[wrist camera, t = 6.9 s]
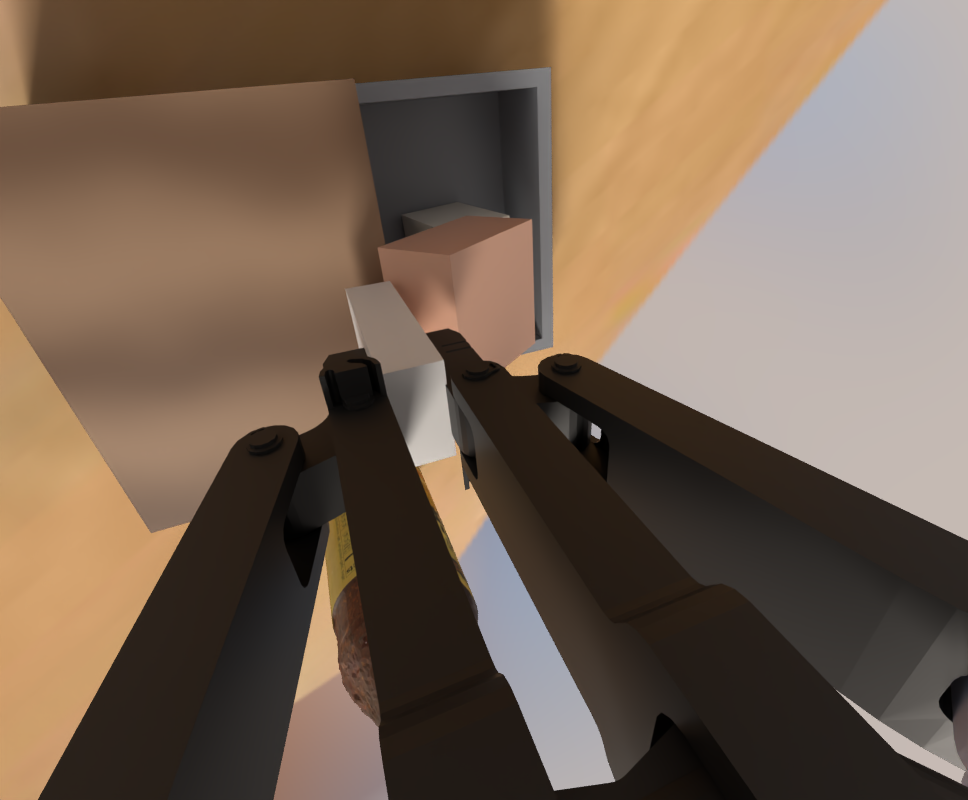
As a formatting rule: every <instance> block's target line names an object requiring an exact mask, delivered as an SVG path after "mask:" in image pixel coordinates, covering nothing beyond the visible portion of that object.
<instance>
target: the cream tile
mask: <svg viewBox="0 0 968 800" xmlns="http://www.w3.org/2000/svg"><path fill="white" fill-rule="evenodd" d="M401 216H402V221H403V226H404V231H405V236H406V237H408V236H411V235H414V234H417V233H419V232H422V231H425V230H428V229H430V228H433V227H436V226H439V225H442V224H444V223H447V222H450V221H453V220H455V219H458V218H461V217H464V216H483V217H502V218H510V217H509V215H506V214H502V213H498V212H494V211H490V210H487V209H483V208H479V207H475V206H471V205H467V204H463V203H459V202H455V203H450V204H446V205H442V206H437V207H433V208H428V209H424V210H420V211H415V212H411V213H406V214H402V215H401Z"/></svg>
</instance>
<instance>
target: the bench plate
mask: <svg viewBox="0 0 968 800" xmlns="http://www.w3.org/2000/svg"><path fill="white" fill-rule="evenodd" d="M383 245H385V240H384V235H383V229H382V224H381V219H380V213H379V208H378V203H377V197H376V192H375V187H374V181H373V176H372V171H371V165H370V160H369V155H368V149H367V144H366V139H365V133H364V128H363V123H362V117H361V112H360V107H359V101H358V96H357V91H356V85H355V80H354V78H353V79H341V80H328V81H316V82H304V83H291V84H279V85H267V86H254V87H242V88H230V89H217V90H205V91H193V92H180V93H168V94H156V95H143V96H131V97H119V98H106V99H94V100H82V101H69V102H57V103H45V104H32V105H20V106H7V107H0V298H1V299H2V301H3V302H4V304H5V305H6V307H7V308H8V310H9V312H10V313H11V315H12V316H13V318H14V319H15V321H16V323H17V324H18V326H19V327H20V329H21V330H22V332H23V334H24V335H25V337H26V338H27V340H28V341H29V343H30V344H31V346H32V348H33V349H34V351H35V352H36V354H37V355H38V357H39V359H40V360H41V362H42V363H43V365H44V366H45V368H46V369H47V371H48V373H49V374H50V376H51V377H52V379H53V380H54V382H55V384H56V385H57V387H58V388H59V390H60V391H61V393H62V395H63V396H64V398H65V399H66V401H67V402H68V404H69V405H70V407H71V409H72V410H73V412H74V413H75V415H76V416H77V418H78V420H79V421H80V423H81V424H82V426H83V427H84V429H85V430H86V432H87V434H88V435H89V437H90V438H91V440H92V441H93V443H94V445H95V446H96V448H97V449H98V451H99V452H100V454H101V456H102V457H103V459H104V460H105V462H106V463H107V465H108V466H109V468H110V470H111V471H112V473H113V474H114V476H115V477H116V479H117V481H118V482H119V484H120V485H121V487H122V488H123V490H124V491H125V493H126V495H127V496H128V498H129V499H130V501H131V502H132V504H133V506H134V507H135V509H136V510H137V512H138V513H139V515H140V517H141V518H142V520H143V521H144V523H145V524H146V526H147V527H148V529H149V531H150V532H151V533H153V532H156V531H160V530H163V529H167V528H170V527H174V526H177V525H181V524H184V523H188V522H191V520H192V519H193V517H194V515H195V513H196V511H197V510H198V508H199V506H200V504H201V502H202V500H203V499H204V497H205V495H206V493H207V491H208V490H209V488H210V486H211V484H212V482H213V480H214V479H215V477H216V475H217V473H218V471H219V470H220V468H221V466H222V464H223V462H224V460H225V459H226V457H227V455H228V453H229V451H230V450H231V448H232V447H233V445H234V444H235V443H236V442H237V441H238V440H239V439H241V438H242V437H244V436H245V435H247V434H248V433H249V432H251V431H254V430H257V429H259V428H262V427H268V426H273V425H286V426H289V427H293V428H294V429H295V430H296V431H297V432H298V434H299V435H300V434H302V433H305V432H307V431H309V430H311V429H313V428H315V427H316V426H318V425H319V424H320V423H322V422H323V421H324V420H325V419H326V418H327V416H328V414H329V412H328V408H327V404H326V401H325V398H324V394H323V391H322V387H321V384H320V380H319V373H320V371H321V370H322V369H323V363H324V361H325V360H326V358H327V357H328V355H331V354H336V353H341V352H345V351H350V350H355V349H359V346H358V342H357V338H356V333H355V329H354V325H353V320H352V316H351V312H350V308H349V303H348V299H347V295H346V290H345V289H348V288H353V287H359V286H364V285H370V284H375V283H381V282H384V279H383V274H382V269H381V264H380V258H379V253H378V247H381V246H383Z"/></svg>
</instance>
